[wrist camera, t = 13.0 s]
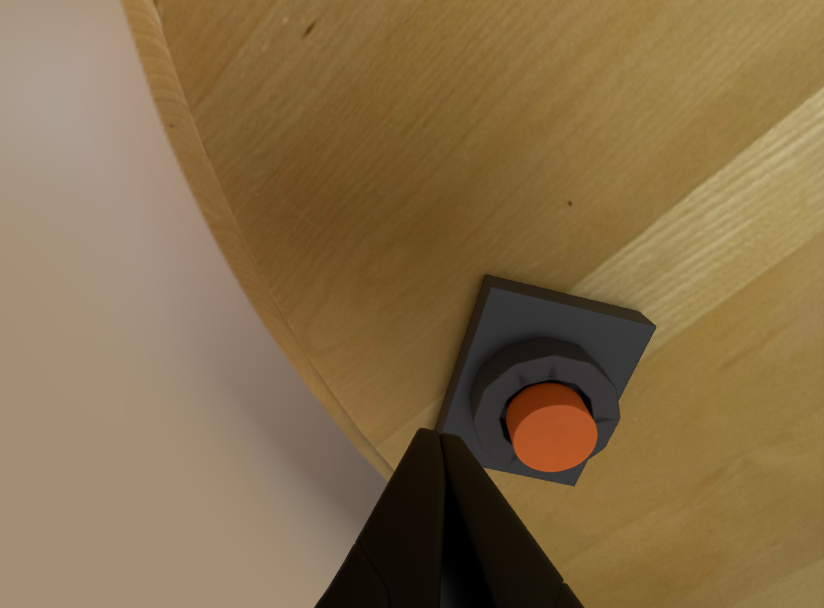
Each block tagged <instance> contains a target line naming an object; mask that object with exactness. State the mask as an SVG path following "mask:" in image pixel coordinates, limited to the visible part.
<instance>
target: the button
mask: <svg viewBox="0 0 824 608" xmlns="http://www.w3.org/2000/svg"><path fill="white" fill-rule="evenodd" d="M506 423H507V427H508V431H509V434H510V438H511V441H512V445H513V448H514V451H515V453H516V455H517V457H518V458H519V459H520V460H521V461H522V462H523V463H524V464H526V465H527V466H529V467H531V468H533V469H535V470H539V471H544V472H558V471H563V470H567V469H570V468H572V467H574V466H577V465H578V464H580V463H581V462H583V461H584V460H585V459H586V458H587V457H588V456H589V455H590V454H591V453H592V451H593V449H594V447H595V445H596V442H597V436H598V433H597V427H596V424H595V422H594V420H593V418H592V416H591V415H590V413H589V411H588V410H587V408H586V406H585V404H584V403H583V401H582V399H581V398H580V396H579V395H578V394H577V393H576V392H575V391H574V390H573V389H571V388H569V387H567V386H565V385H562V384H559V383H550V382H548V383H539V384H535V385H532V386H530V387H527V388H526V389H524V390H522V391H521V392H519V393H518V394H517V395H516V396H515V397H514V398H513V400H512V401H511V403H510V404H509V407H508V409H507V413H506Z"/></svg>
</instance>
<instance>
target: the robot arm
mask: <svg viewBox="0 0 824 608" xmlns="http://www.w3.org/2000/svg"><path fill="white" fill-rule="evenodd" d="M563 581H564V580H563V578H562V576H561V575H560V574H559V572H558V571H557V569H556V568H555V567H554V565H553V564H552V563H551V561H550V560H549V558H548V557H547V556H546V554H545V553H544V551H543V550H542V549H541V547H540V546H539V545H538V543H537V542H536V540H535V539H534V538H533V536H532V535H531V534H530V532H529V531H528V529H527V528H526V527H525V525H524V524H523V522H522V521H521V520H520V518H519V517H518V516H517V514H516V513H515V511H514V510H513V509H512V507H511V506H510V505H509V503H508V502H507V500H506V499H505V498H504V496H503V495H502V493H501V492H500V491H499V489H498V488H497V487H496V485H495V484H494V482H493V481H492V480H491V478H490V477H489V476H488V474H487V473H486V471H485V470H484V469H483V467H482V466H481V464H480V463H479V462H478V460H477V459H476V458H475V456H474V455H473V453H472V452H471V451H470V449H469V448H468V447H467V445H466V444H465V442H464V441H463V440H462V438H461V437H460V436H458V435H454V434H449V433H445V432H441V433H440V434H439V433H438V432H437V431H435V430H430V429H426V428H419V429H418V430H417V432H416V434H415V436H414V438H413V439H412V441H411V443H410V445H409V446H408V448H407V450H406V452H405V454H404V455H403V457H402V459H401V461H400V463H399V464H398V466H397V468H396V470H395V472H394V473H393V475H392V477H391V479H390V481H389V482H388V484H387V486H386V488H385V490H384V491H383V493H382V495H381V497H380V499H379V501H378V502H377V504H376V506H375V507H374V509H373V511H372V513H371V515H370V516H369V518H368V520H367V522H366V524H365V525H364V527H363V529H362V531H361V533H360V534H359V536H358V538H357V540H356V542H355V544H354V545H353V546H352V548H351V550H350V552H349V554H348V555H347V557H346V559H345V561H344V562H343V564H342V566H341V567H340V569H339V571H338V572H337V574H336V576H335V577H334V579H333V580H332V582H331V584H330V585H329V587H328V589H327V590H326V592H325V593H324V594H323V596H322V597H321V598H320V600H319V601H318V603H317V604H316V606H315V607H314V608H584V606H583V605H582V604H581V602H580V601H579V599H578V598H577V597H576V595H575V594H574V593H573V591H572V590H571V588H570V587H569V586H568V584H566V583H563Z"/></svg>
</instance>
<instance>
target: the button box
mask: <svg viewBox="0 0 824 608" xmlns="http://www.w3.org/2000/svg"><path fill="white" fill-rule="evenodd" d="M655 329H656V325H654V324H653V323H652V322H651V321H650V320H649V319H647V318H646V317H645V316H644V315H643V314H642V313H641V312H638V311H634V310H630V309H626V308H622V307H618V306H614V305H610V304H605V303H601V302H597V301H593V300H589V299H585V298H581V297H577V296H572V295H568V294H564V293H560V292H556V291H552V290H548V289H544V288H539V287H535V286H531V285H527V284H523V283H519V282H515V281H511V280H507V279H502V278H498V277H494V276H490V275H485V278H484V281H483V284H482V287H481V290H480V293H479V296H478V299H477V302H476V305H475V308H474V311H473V314H472V317H471V320H470V323H469V326H468V329H467V332H466V335H465V338H464V342H463V345H462V348H461V351H460V354H459V357H458V360H457V363H456V366H455V369H454V372H453V375H452V378H451V381H450V384H449V387H448V390H447V393H446V396H445V399H444V402H443V405H442V408H441V411H440V414H439V417H438V420H437V424H436V427H435V431H437V432H438V433H439V434H440V433H441V432H445V433H449V434H454V435H458V436H460V437H461V438H462V440H463V441H464V442H465V444H466V445H467V447H468V448H469V449H470V451H471V452H472V453H473V455H474V456H475V458H476V459H477V460H478V462H479V463H480V464H481V466H482V467H484V468H488V469H493V470H498V471H503V472H508V473H513V474H517V475H522V476H527V477H532V478H537V479H542V480H546V481H551V482H556V483H561V484H566V485H570V486H575V484H576V482H577V480H578V478H579V476H580V474H581V473H582V471H583V469H584V467H585V465H586V463H587V461H588V459H590V458H591V457H593V456H594V455H596V454H597V453H598V452H600V451H601V450H603V449H604V447H606V445H607V443H608V441H609V439H610V437H611V436H612V434H613V432H614V430H615V428H616V426H617V424H618V422H619V420H620V411H619V403H618V401H619V399H620V397H621V395H622V393H623V391H624V389H625V387H626V385H627V383H628V381H629V379H630V377H631V376H632V374H633V372H634V370H635V368H636V366H637V364H638V362H639V360H640V358H641V356H642V354H643V352H644V350H645V348H646V346H647V345H648V343H649V341H650V339H651V337H652V335H653V333H654V331H655ZM548 382H550V383H559V384H562V385H565V386H567V387H569V388H571V389H573V390H574V391H575V392H576V393H577V394H578V395H579V396H580V398H581V399H582V401H583V403H584V404H585V406H586V408H587V410H588V411H589V413H590V415H591V416H592V418H593V420H594V422H595V424H596V427H597V433H598V436H597V442H596V445H595V447H594V449H593V451H592V453H591V454H590V455H589V456H588V457H587V458H586V459H585V460H584V461H583V462H581V463H580V464H578V465H577V466H574V467H572V468H570V469H567V470H563V471H558V472H544V471H539V470H535V469H533V468H531V467H529V466H527V465H526V464H524V463H523V462H522V461H521V460H520V459H519V458H518V457H517V455H516V453H515V451H514V448H513V445H512V441H511V438H510V434H509V431H508V427H507V423H506V413H507V409H508V407H509V404H510V403H511V401H512V400H513V398H514V397H515V396H516V395H517V394H518V393H519V392H521V391H522V390H524V389H526V388H527V387H530V386H532V385H535V384H539V383H548Z"/></svg>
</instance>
